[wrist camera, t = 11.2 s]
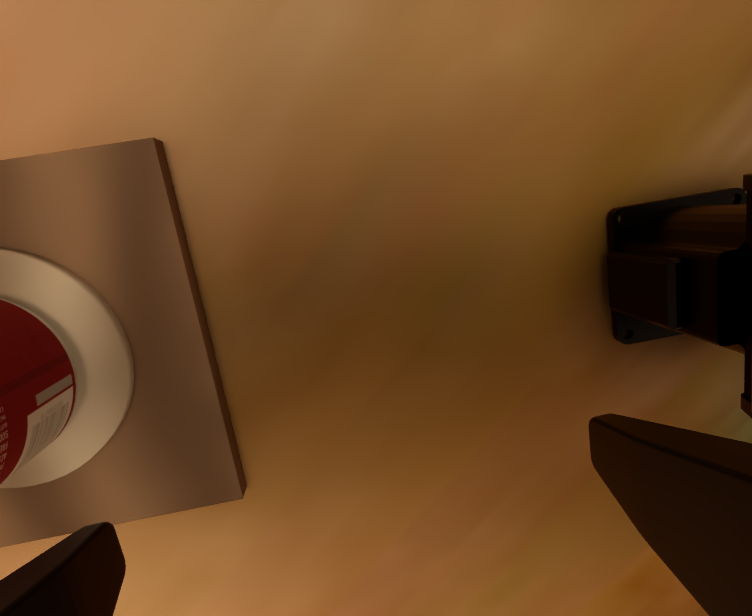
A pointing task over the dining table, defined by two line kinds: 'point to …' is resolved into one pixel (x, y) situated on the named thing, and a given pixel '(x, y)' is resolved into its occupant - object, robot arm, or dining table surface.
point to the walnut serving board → (114, 343)
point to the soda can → (31, 386)
